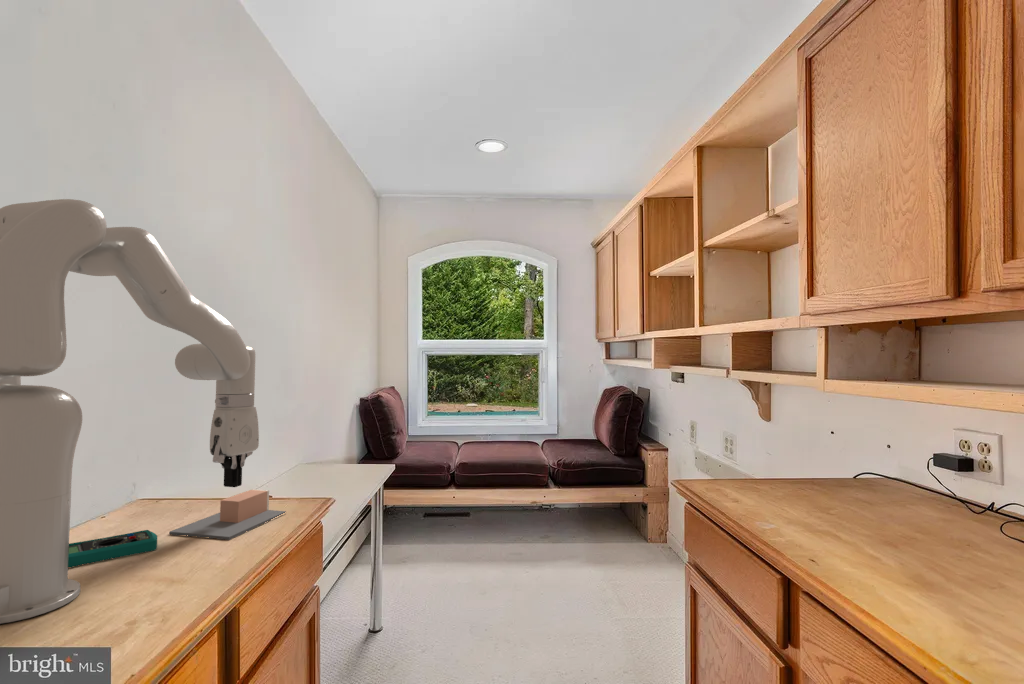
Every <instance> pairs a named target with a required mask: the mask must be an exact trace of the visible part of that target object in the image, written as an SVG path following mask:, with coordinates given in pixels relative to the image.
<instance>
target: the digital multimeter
mask: <svg viewBox="0 0 1024 684" xmlns="http://www.w3.org/2000/svg"><path fill="white" fill-rule="evenodd" d="M157 548H158V535H157V534H156V533H155V532H153V531H150V529H144V530H143V529H142V530H139V531H134V532H133V531H132V532H129V533H123V534H118V535H113V536H107V537H102V538H96V539H91V540H90V539H89V540H84V541H83V540H82V541H79V542H78V541H77V542H72V543H71V542H69V556H68V567H71V568H74V567H73V566H75V567H78V565H80V566H83V565H82V564H84V565H88V564H87V563H89V564H92V563H93V562H94V563H98V562H103V560H104V561H107V560H112V558H113V559H118V558H123V557H127V556H132V555H137V554H143V553H148V552H153V551H156V550H157ZM94 563H93V564H94Z"/></svg>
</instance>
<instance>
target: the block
mask: <svg viewBox="0 0 1024 684" xmlns="http://www.w3.org/2000/svg"><path fill="white" fill-rule="evenodd" d="M269 503H270V490H267V489H253V488H252V489H249V490H245V491H243V492H241V493H237V494H235V495H232V496H229V497H226V498H224V499H220V504H219V505H220V506H219V510H220V511H219V513H220V521H223V522H235V523H239V522H241V521H243V520H246V519H248V518H250V517H253V516H255V515H257V514H260V513H262V512H265V511H267V510H270V509H269V508H270V504H269Z"/></svg>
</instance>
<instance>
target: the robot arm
mask: <svg viewBox="0 0 1024 684" xmlns="http://www.w3.org/2000/svg"><path fill="white" fill-rule="evenodd" d="M106 220H107V219H106V217H105V216H104V214H103V212H102V210H101V209H99V208H98V207H97V206H96V205H94V204H92V203H90V202H88V201H84V200H79V199H75V198H74V199H71V198H63V199H50V200H49V199H48V200H40V201H30V202H21V203H13V204H8V205H5V206H2V207H1V208H0V625H1V624H7V623H13V622H17V621H22V620H26V619H30V618H31V619H32V618H33V617H37V616H39V615H44V614H46V613H49V612H51V611H54V610H57V609H58V608H61V607H64V606H65V605H67V604H69V603H71V602H72V601H73V600H75V599H76V598H77V597H78V596H79V595H80V593H81V583H80V582H79V581H78V580H75V579H71V578H68V577H69V576H68V574H69V568H68V556H69V544H70V530H71V529H70V527H71V526H70V525H71V509H72V508H71V503H72V502H71V501H72V478H73V465H74V457H75V452H76V447H77V444H78V441H79V438H80V433H81V430H82V424H83V412H82V407H81V406H80V404H79V402H78V401H77V399H75V397H74V396H72V394H70V393H68V392H67V391H65V390H62V389H60V388H57V387H53V386H46V385H32V384H31V385H29V384H27V385H26V384H25V385H24V384H21V379H22V377H37V376H38V377H39V376H43V375H46V374H49V373H52V372H54V371H56V370H57V369H58V368H59V367H61V365H62V364H63V363H64V361H65V359H66V356H67V329H66V324H67V323H66V309H65V308H66V307H65V285H66V280H67V277H68V274H69V272H72V273H76V274H82V275H85V276H90V277H114V276H115V277H116V278H117V279H118V281H119V282H120V283H121V284H122V286H123V287H124V288H125V290H126V291H127V293H129V295H130V296H131V298H132V299H133V301H134V302H135V303H136V306H138V308H139V309H140V310H141V312H142V313H143V314H144V315H145V317H146V318H147V319H149V320H151V321H153V322H155V323H157V324H159V325H161V326H163V327H164V326H165V327H166V328H170V329H172V330H175V331H178V332H181V333H183V334H185V335H187V336H190V337H191V338H193V339H194V340H197V341H198V342H200V343H194V344H189V345H186V346H184V347H183V348H181V349H180V350H179V351H178V352H177V354H176V356H175V359H174V365H175V368H176V370H177V372H178V373H179V374H180V375H181V376H183V377H184V378H187V379H190V380H194V381H195V380H196V381H215V400H214V403H215V407H214V410H213V414H212V420H211V423H210V424H211V425H210V435H209V452H210V454H211V455H212V456H213V457H212V462H213V463H217V464H220V465H221V468H222V469H223V487H225V488H237V487H240V486H242V482H243V481H242V480H243V467H244V466H245V462H246V459H247V458H248V457H249V456H251V455H253V452H255V451H257V450H258V448H259V446H260V445H259V444H260V443H259V442H260V441H259V440H260V439H259V438H260V435H259V434H260V431H259V417H258V413H257V412H258V410H257V407H256V406H255V386H256V385H255V384H256V383H255V380H256V351H255V349H254V348H253V347H252V346H247V345H246V344H245V342H244V341H243V339H242V337H241V335H240V334H239V333H238V330H237V329H236V327H234V326H233V324H232V323H231V322H230V321H229V320H227V318H225V317H224V316H223V315H221V314H220V313H219V312H217V311H216V310H214V309H213V308H212V307H211V306H209V305H208V304H206V303H205V302H203V301H202V300H200V299H198V298H197V297H195V296H194V295H193V293H191V291H190V290H189V288H188V286H187V285H186V283H185V281H183V279H182V278H181V276H180V274H179V272H178V271H177V270H176V268H175V267H174V265H173V264H172V262H171V260H170V258H169V257H168V255H167V254H166V253H165V251H164V249H163V248H162V247H161V245H160V243H159V242H158V241H157V239H156V237H155V236H154V235H153V234H151V233H150V232H149V231H147V230H145V229H143V228H139V227H135V226H115V227H114V226H113V227H107V221H106Z"/></svg>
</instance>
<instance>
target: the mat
mask: <svg viewBox="0 0 1024 684" xmlns="http://www.w3.org/2000/svg"><path fill="white" fill-rule="evenodd" d="M285 512H286V513H287V511H286V510H285V511H284V510H274V509H269V510H267V511H265V512H262V513H260V514H257V515H255V516H253V517H250V518H248V519H246V520H243V521H241V522H239V523H235V522H223V521H220V512H218V513H214V514H213V515H209V516H207V517H204V518H202V519H199V520H197V521H194V522H191V523H188V524H186V525H184V526H183V525H182V526H181V527H178V528H176V529H175V528H174V529H171V530H170V531H169V534H172V535H171V536H179V535H186V536H185V537H190V536H197V537H196V538H201V537H209V538H208V539H213V538H217V539H216V540H224V539H225V541H230V540H232V538H233V539H234V537H235V538H237V537H239V536H241V535H243V534H245V532H246V531H248V532H249V530H250V531H252V530H254V529H256V528H258V527H257V526H259V525H261V524H263V523H265V522H267V521H269V520H271V519H273V518H275V517H277V516H279V515H281V514H283V513H285ZM267 523H268V522H267ZM265 524H266V523H265ZM263 525H264V524H263ZM261 526H262V525H261ZM255 527H256V528H255ZM259 527H260V526H259ZM253 528H254V529H253ZM251 529H252V530H251ZM246 533H247V532H246ZM187 535H188V536H187Z"/></svg>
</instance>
